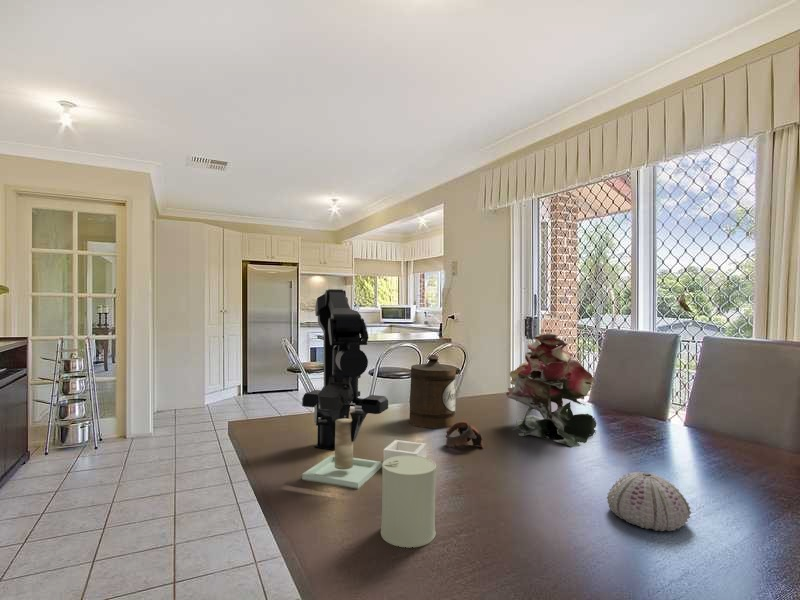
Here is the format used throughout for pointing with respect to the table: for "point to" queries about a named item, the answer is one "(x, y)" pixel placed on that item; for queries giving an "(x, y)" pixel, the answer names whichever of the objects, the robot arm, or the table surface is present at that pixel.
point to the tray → (342, 472)
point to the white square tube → (405, 449)
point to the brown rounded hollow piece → (463, 435)
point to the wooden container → (432, 394)
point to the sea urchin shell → (648, 502)
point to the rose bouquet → (552, 391)
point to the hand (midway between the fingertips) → (344, 440)
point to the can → (408, 501)
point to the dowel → (343, 444)
